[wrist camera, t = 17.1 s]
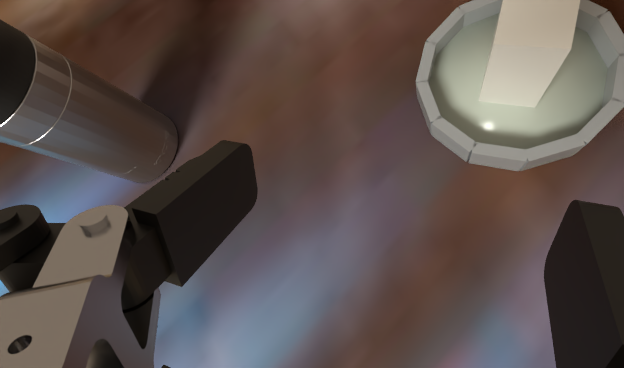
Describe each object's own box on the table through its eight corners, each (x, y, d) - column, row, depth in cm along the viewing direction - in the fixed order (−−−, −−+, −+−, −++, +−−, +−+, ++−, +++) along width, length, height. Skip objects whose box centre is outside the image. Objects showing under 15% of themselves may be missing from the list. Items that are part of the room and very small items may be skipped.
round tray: (403, 152, 35) (400, 141, 33) (438, 7, 38) (439, -14, 35) (599, 184, 30) (616, 175, 27) (626, 12, 32) (644, -13, 29)
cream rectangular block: (478, 101, 33) (493, 44, 25) (488, 56, 34) (506, -15, 26) (534, 107, 32) (571, 48, 23) (544, 60, 32) (582, -14, 24)
